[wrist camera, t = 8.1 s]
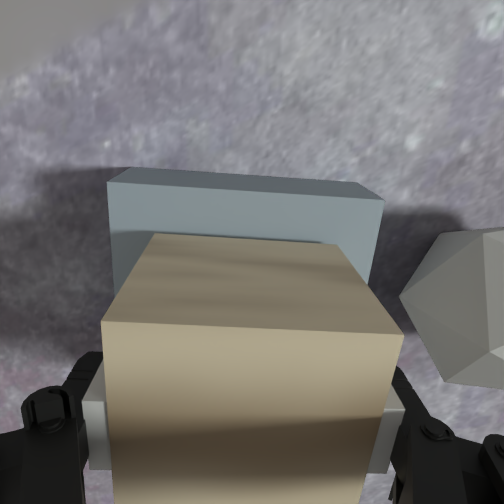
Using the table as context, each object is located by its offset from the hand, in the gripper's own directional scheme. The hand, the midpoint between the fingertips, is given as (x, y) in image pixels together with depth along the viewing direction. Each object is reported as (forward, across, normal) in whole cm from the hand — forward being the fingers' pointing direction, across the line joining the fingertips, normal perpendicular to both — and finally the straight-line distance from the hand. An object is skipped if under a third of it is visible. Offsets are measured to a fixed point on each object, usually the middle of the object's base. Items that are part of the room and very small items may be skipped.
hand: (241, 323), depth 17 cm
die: (+5, -13, -1) cm, 14 cm away
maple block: (0, 0, 0) cm, 0 cm away
